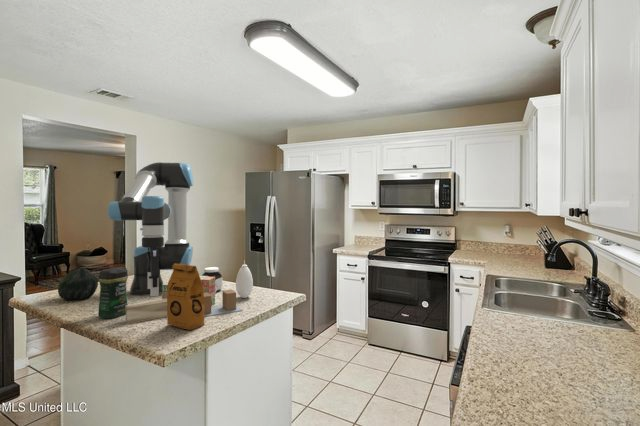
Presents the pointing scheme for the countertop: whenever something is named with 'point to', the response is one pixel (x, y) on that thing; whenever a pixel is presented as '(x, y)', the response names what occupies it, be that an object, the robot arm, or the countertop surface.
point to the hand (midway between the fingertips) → (152, 292)
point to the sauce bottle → (244, 281)
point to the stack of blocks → (207, 287)
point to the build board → (221, 311)
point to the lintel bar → (146, 311)
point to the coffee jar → (112, 292)
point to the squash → (77, 284)
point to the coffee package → (185, 298)
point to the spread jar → (214, 273)
